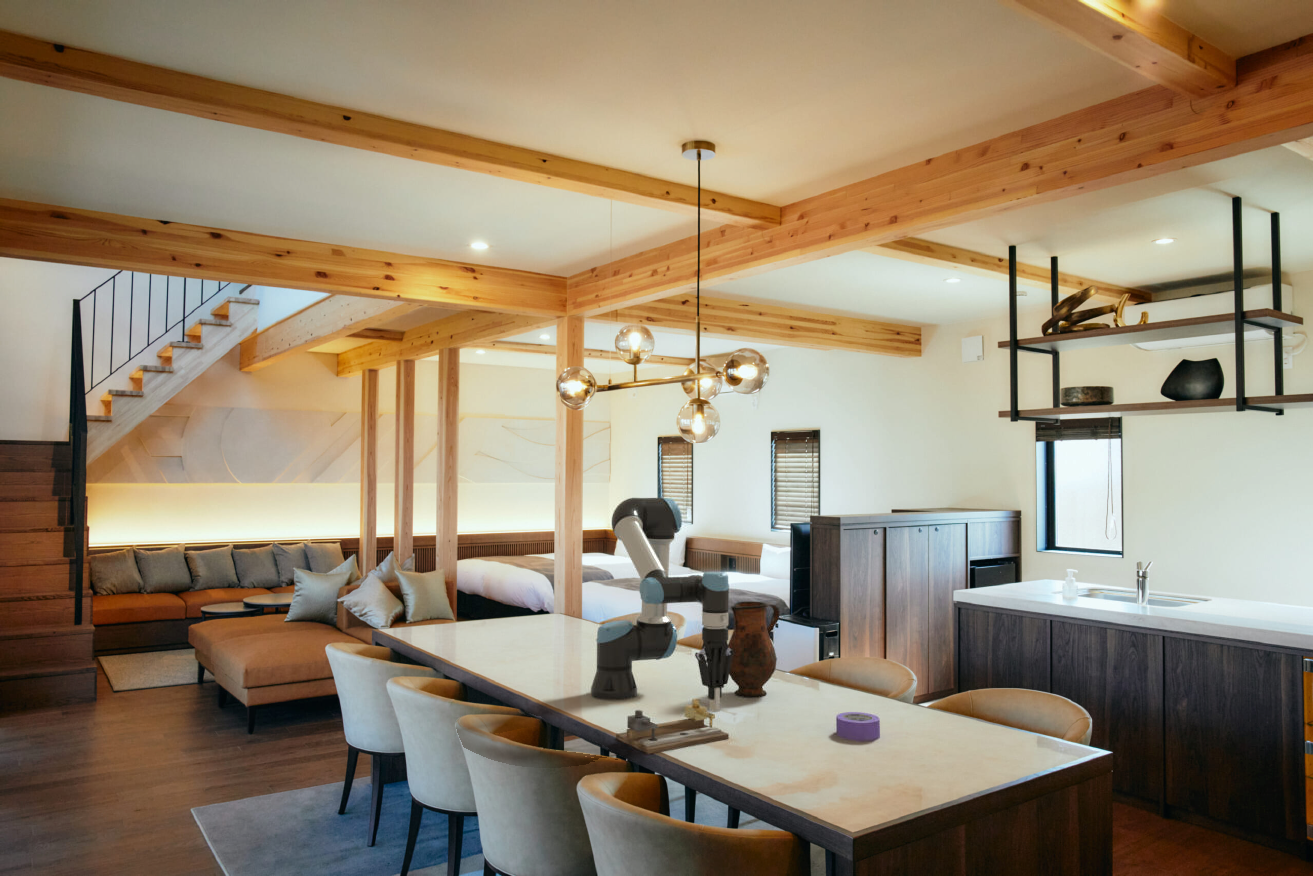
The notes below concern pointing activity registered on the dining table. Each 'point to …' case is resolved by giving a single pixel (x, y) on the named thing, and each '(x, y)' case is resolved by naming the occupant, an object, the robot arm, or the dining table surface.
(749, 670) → the pitcher
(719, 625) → the robot arm
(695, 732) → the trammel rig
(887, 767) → the dining table surface
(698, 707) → the sliding head
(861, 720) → the tape roll
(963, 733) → the dining table surface
